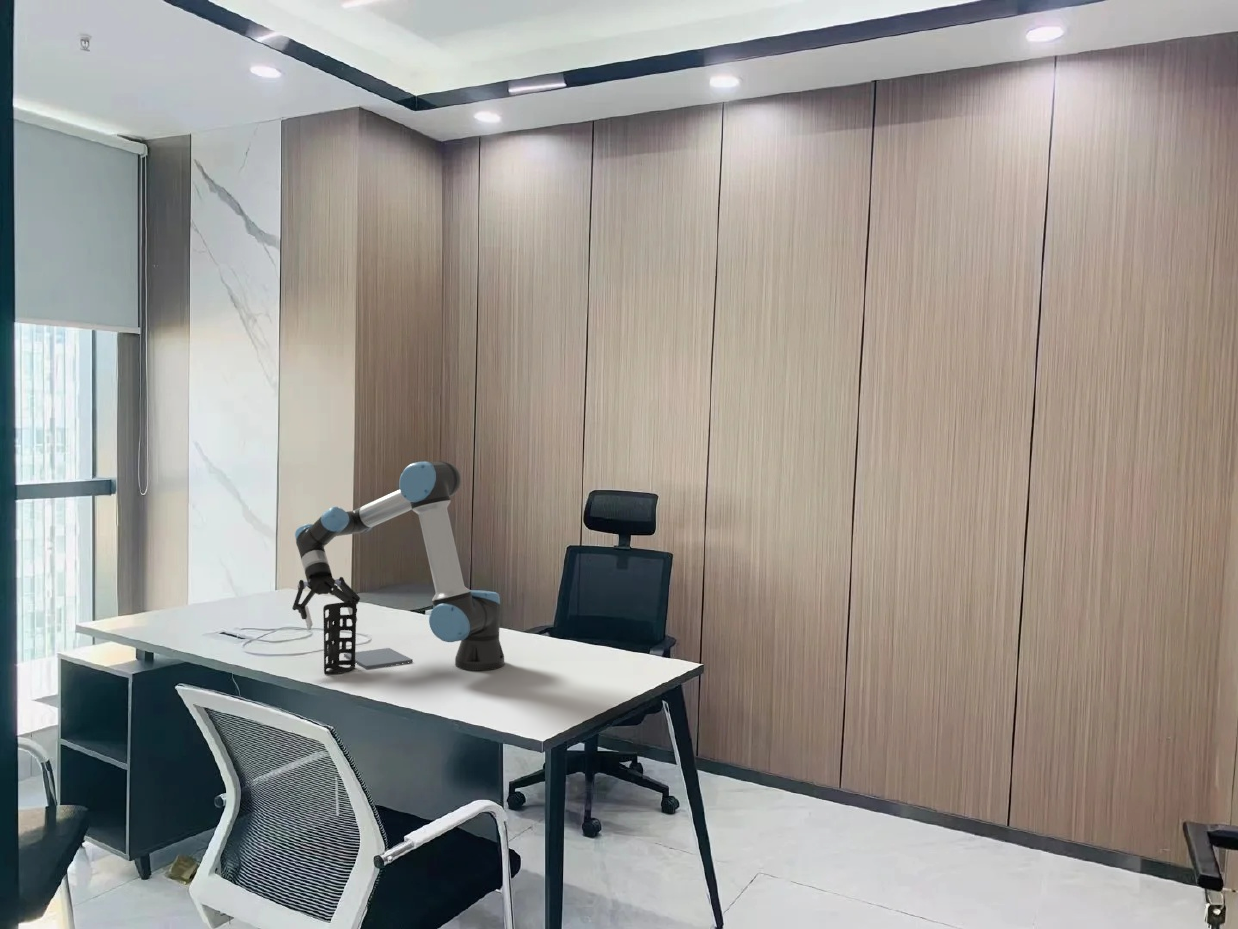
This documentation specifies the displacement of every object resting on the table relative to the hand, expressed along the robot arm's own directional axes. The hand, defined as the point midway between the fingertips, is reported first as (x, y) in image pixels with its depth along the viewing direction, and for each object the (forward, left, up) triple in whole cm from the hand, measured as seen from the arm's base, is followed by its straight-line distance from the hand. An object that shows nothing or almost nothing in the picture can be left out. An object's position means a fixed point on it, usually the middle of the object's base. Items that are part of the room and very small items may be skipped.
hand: (333, 624), depth 267 cm
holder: (-3, -1, -13) cm, 14 cm away
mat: (+3, -16, -13) cm, 21 cm away
